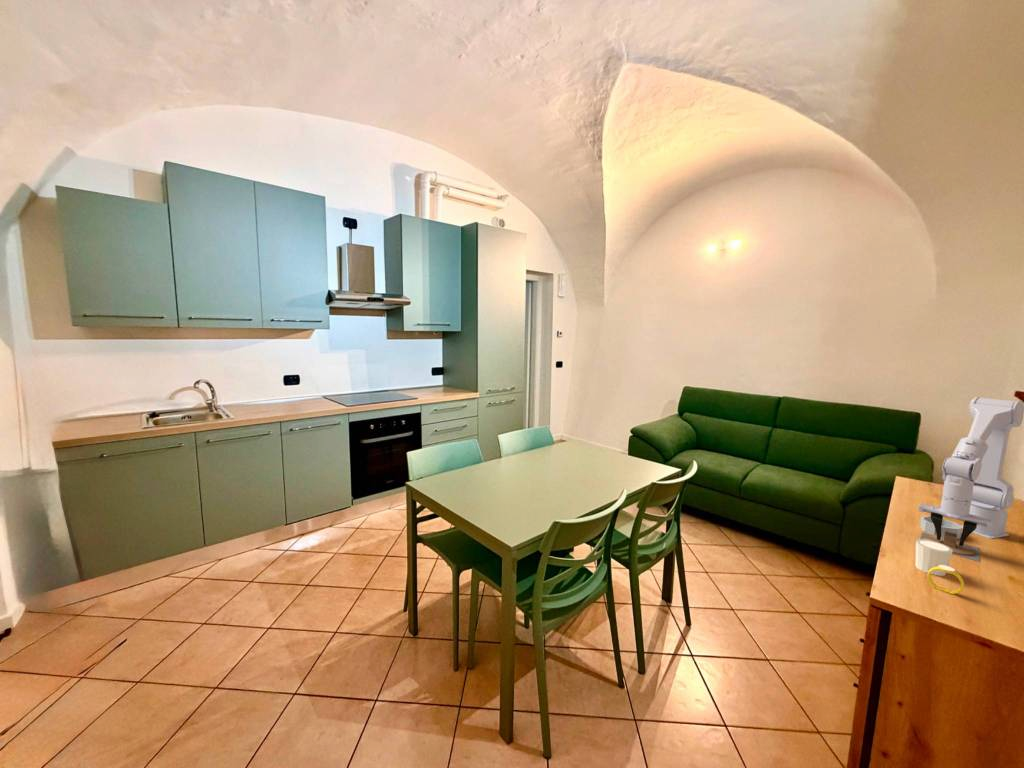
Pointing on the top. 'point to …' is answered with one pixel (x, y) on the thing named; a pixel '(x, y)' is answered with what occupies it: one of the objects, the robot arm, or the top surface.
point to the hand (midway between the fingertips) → (949, 541)
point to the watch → (947, 570)
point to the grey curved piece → (947, 526)
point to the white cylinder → (932, 555)
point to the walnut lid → (953, 544)
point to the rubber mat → (972, 557)
